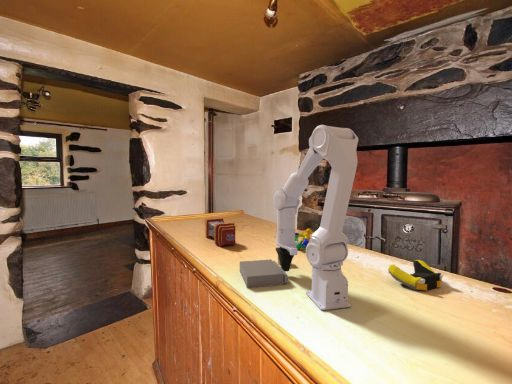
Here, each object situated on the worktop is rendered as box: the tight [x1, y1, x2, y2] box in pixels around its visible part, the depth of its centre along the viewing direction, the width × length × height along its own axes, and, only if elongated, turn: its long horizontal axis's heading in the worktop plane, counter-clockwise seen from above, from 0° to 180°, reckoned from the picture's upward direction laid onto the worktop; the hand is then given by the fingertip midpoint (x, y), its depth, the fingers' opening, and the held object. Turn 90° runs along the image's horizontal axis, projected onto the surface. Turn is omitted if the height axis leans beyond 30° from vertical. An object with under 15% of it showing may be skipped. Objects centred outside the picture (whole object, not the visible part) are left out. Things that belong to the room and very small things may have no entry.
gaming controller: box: [387, 259, 444, 292], centre depth 78 cm, size 15×6×10 cm
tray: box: [272, 260, 288, 284], centre depth 82 cm, size 13×11×2 cm
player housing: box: [239, 259, 285, 289], centre depth 81 cm, size 13×11×3 cm
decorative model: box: [295, 228, 314, 251], centre depth 114 cm, size 13×9×15 cm
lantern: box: [204, 217, 236, 247], centre depth 125 cm, size 10×9×30 cm
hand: (285, 270), depth 83 cm, fingers closed
